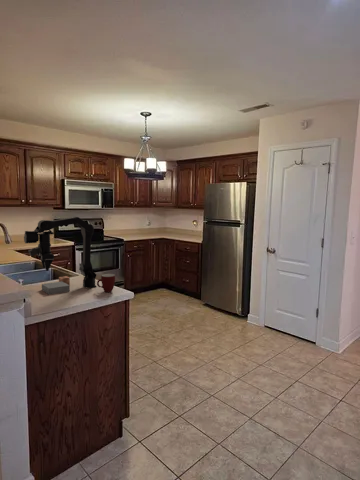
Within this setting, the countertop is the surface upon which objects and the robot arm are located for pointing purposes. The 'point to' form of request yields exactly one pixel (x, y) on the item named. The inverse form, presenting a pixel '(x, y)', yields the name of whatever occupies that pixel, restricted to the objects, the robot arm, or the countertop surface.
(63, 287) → the plinth
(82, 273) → the robot arm
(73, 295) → the countertop surface
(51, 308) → the countertop surface
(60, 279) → the cube
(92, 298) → the countertop surface
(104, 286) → the mug
